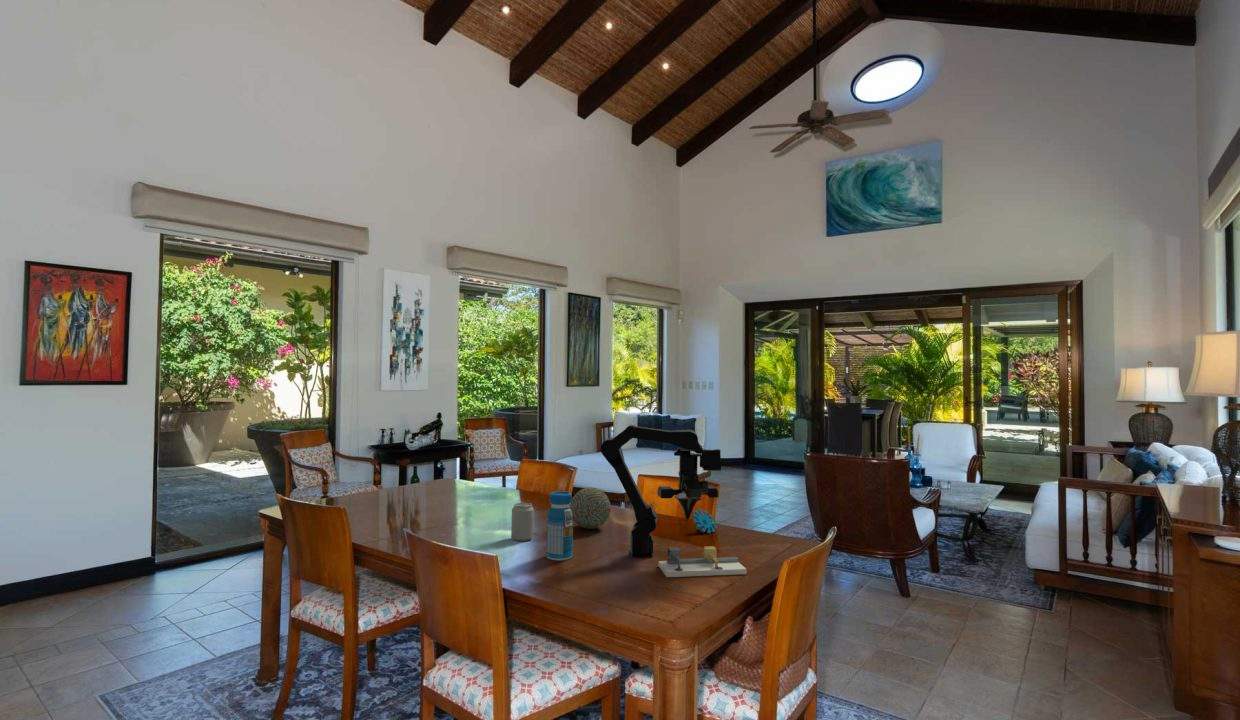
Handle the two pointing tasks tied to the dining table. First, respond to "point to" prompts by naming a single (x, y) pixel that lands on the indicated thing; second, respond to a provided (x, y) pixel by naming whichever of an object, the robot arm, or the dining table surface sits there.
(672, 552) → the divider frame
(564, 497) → the beverage bottle
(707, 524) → the gear
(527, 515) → the can
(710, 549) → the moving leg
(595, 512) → the decorative sphere
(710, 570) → the plate
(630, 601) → the dining table surface
